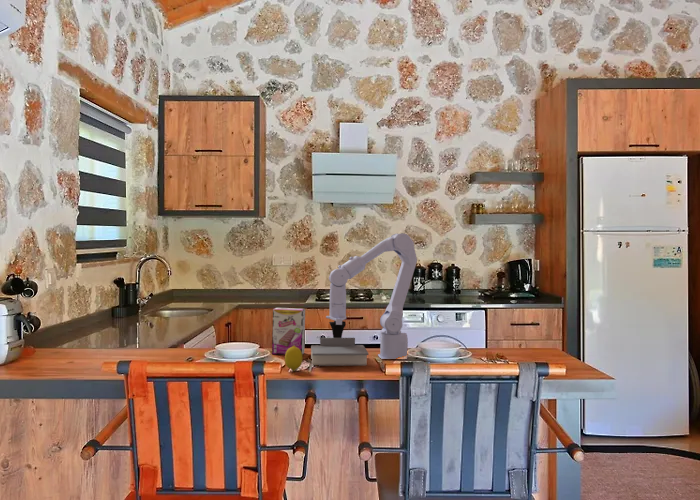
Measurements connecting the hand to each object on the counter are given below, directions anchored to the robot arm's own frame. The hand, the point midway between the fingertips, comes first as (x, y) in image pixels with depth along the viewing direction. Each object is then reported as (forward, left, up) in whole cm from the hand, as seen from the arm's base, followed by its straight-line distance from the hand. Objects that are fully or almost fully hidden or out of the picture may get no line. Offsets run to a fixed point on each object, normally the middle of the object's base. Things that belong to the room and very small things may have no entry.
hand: (337, 342), depth 196 cm
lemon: (+15, +18, -6) cm, 24 cm away
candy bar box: (+17, -9, -6) cm, 20 cm away
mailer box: (0, +4, -6) cm, 7 cm away
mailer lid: (0, +8, -1) cm, 8 cm away
